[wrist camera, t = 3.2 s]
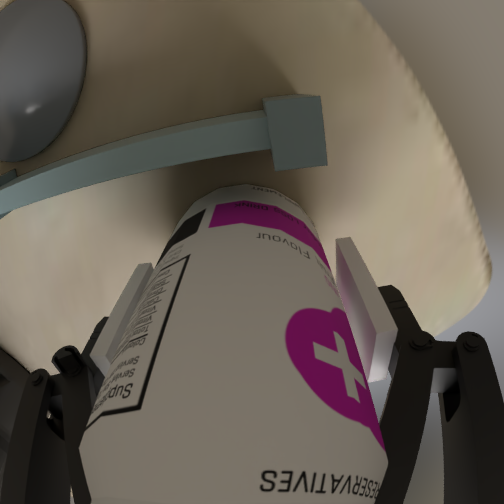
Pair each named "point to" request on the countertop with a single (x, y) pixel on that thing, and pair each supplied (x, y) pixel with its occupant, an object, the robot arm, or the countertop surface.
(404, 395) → the robot arm
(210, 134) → the handle
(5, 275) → the countertop surface
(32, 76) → the coaster
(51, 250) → the countertop surface
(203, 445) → the supplement can
